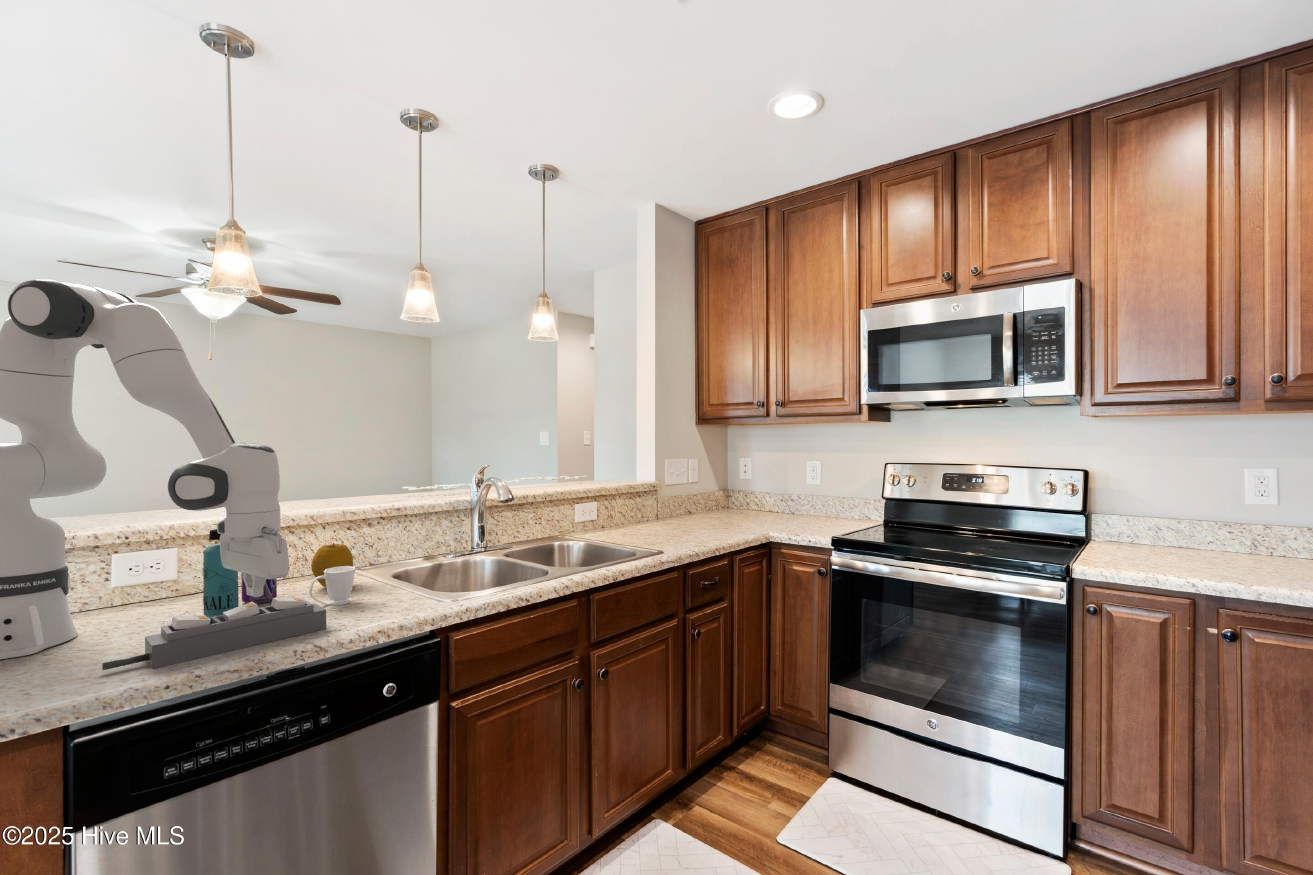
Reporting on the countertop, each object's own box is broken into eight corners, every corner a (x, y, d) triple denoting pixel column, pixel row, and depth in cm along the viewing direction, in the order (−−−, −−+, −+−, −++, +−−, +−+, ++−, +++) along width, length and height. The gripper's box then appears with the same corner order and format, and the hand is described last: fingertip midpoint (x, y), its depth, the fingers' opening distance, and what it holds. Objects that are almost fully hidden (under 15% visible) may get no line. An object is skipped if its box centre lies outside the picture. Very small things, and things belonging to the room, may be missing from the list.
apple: (309, 593, 153) (309, 547, 152) (313, 584, 161) (313, 541, 161) (352, 589, 157) (352, 544, 157) (354, 580, 165) (353, 538, 165)
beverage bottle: (228, 614, 135) (227, 525, 135) (246, 618, 132) (245, 527, 132) (196, 622, 129) (194, 529, 129) (213, 626, 127) (212, 531, 126)
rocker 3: (276, 609, 120) (278, 600, 120) (270, 605, 122) (272, 597, 122) (303, 609, 123) (305, 600, 124) (297, 605, 126) (299, 597, 126)
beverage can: (259, 606, 142) (258, 555, 141) (234, 604, 143) (233, 554, 143) (283, 598, 148) (283, 549, 148) (259, 596, 150) (258, 548, 150)
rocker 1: (174, 629, 108) (177, 619, 108) (170, 624, 110) (173, 615, 110) (208, 628, 111) (210, 618, 112) (203, 624, 114) (205, 614, 114)
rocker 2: (229, 623, 114) (227, 615, 114) (224, 620, 116) (222, 611, 116) (259, 612, 117) (257, 604, 117) (254, 609, 120) (252, 601, 120)
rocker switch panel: (105, 679, 100) (104, 646, 100) (100, 668, 104) (99, 637, 104) (326, 628, 125) (326, 602, 125) (314, 621, 130) (313, 596, 130)
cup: (360, 602, 144) (360, 568, 144) (314, 611, 137) (314, 576, 137) (350, 596, 149) (350, 564, 149) (305, 605, 142) (305, 571, 142)
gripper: (298, 527, 115) (299, 599, 115) (247, 519, 126) (248, 585, 126) (262, 532, 110) (263, 607, 110) (212, 523, 121) (213, 592, 121)
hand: (255, 595), depth 118 cm, fingers closed
